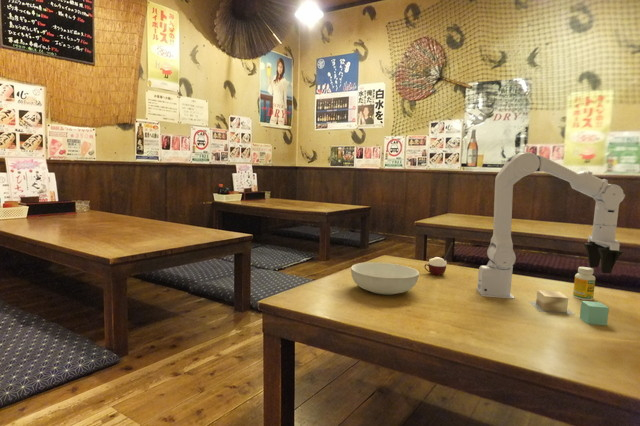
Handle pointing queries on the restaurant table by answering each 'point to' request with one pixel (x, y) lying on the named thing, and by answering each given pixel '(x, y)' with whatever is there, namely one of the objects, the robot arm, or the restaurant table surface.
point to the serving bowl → (384, 277)
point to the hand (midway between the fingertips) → (599, 269)
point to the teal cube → (594, 313)
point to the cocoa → (438, 264)
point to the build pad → (549, 311)
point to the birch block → (552, 301)
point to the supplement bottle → (584, 284)
